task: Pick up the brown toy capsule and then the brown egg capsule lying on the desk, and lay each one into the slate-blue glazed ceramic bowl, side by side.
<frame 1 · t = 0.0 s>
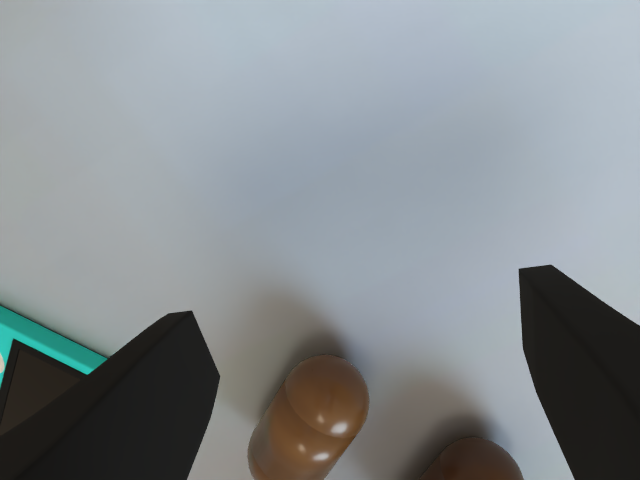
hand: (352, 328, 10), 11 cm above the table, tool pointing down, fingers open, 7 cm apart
handheld game console: (26, 388, 27), on the table
brown toy capsule: (451, 475, 24), on the table
brown egg capsule: (313, 399, 24), on the table
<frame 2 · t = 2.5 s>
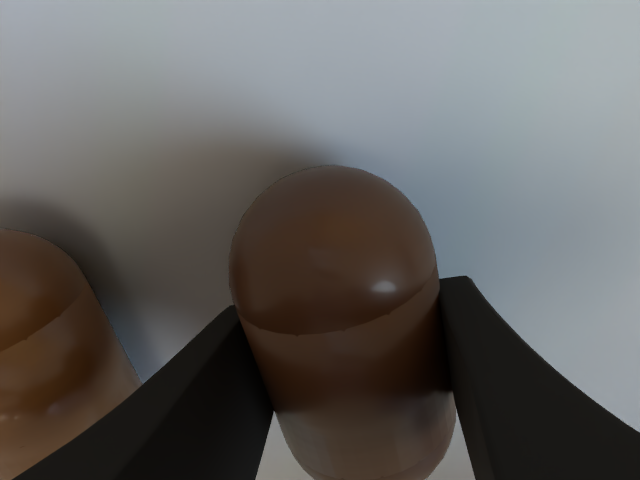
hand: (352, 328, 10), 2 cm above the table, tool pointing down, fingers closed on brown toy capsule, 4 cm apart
brown toy capsule: (355, 287, 12), on the table, touching gripper
brown egg capsule: (80, 322, 14), on the table
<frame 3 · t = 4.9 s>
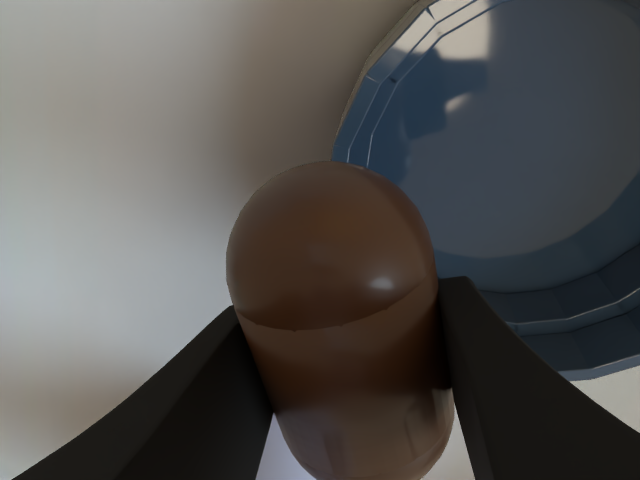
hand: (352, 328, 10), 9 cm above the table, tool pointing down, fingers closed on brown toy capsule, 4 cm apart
brown toy capsule: (353, 284, 12), point 7 cm above the table, touching gripper
bowl: (519, 158, 17), on the table
when the fingers open (2 cm above the table, at t = 7.7 s): brown toy capsule stays where it is, resting on bowl.
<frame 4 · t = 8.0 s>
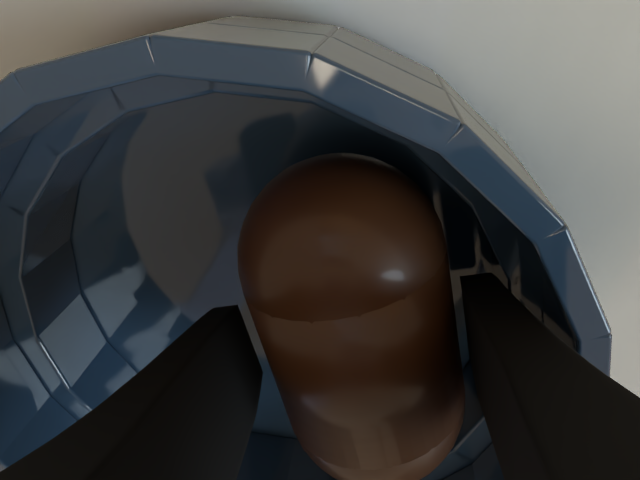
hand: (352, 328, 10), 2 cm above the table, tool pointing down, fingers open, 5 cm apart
brown toy capsule: (360, 278, 12), point 1 cm above the table, touching bowl
bowl: (279, 281, 13), on the table
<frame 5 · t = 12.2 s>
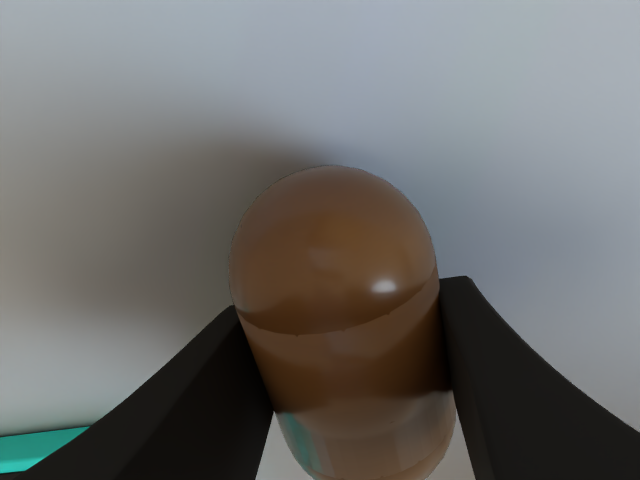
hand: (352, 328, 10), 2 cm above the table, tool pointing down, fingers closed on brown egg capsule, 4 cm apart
brown egg capsule: (355, 287, 12), on the table, touching gripper
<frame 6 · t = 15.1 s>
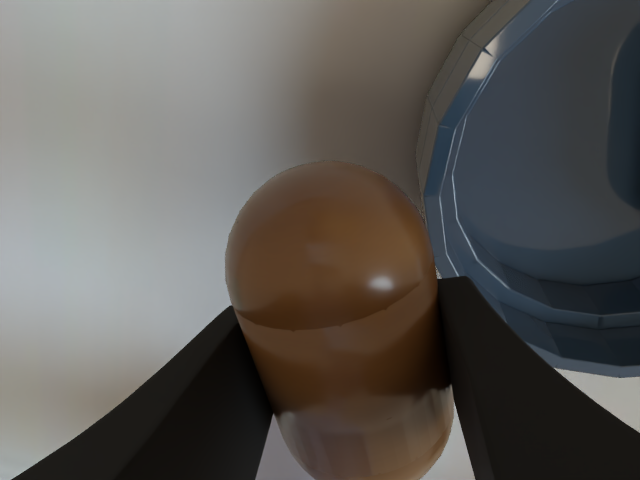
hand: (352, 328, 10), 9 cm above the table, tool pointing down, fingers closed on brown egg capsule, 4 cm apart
brown egg capsule: (352, 284, 12), point 7 cm above the table, touching gripper
bowl: (606, 144, 17), on the table
when the fingers open (2 cm above the table, at t = 17.8 s): brown egg capsule stays where it is, resting on bowl.
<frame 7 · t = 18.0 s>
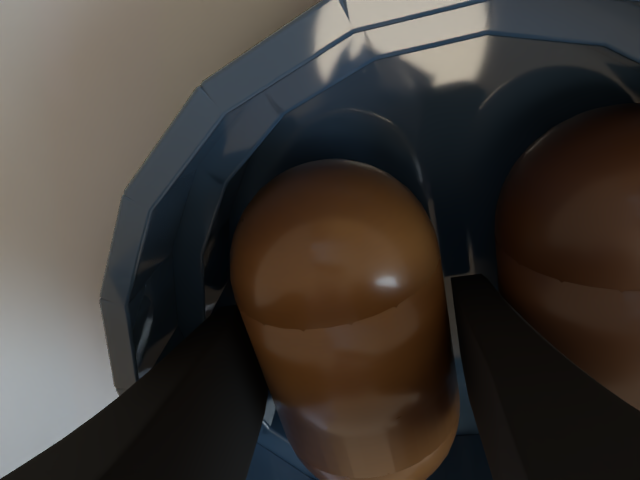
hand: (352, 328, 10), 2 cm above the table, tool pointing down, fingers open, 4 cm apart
brown toy capsule: (554, 259, 11), point 1 cm above the table, tilted 14°, touching bowl, gripper
brown egg capsule: (354, 283, 12), point 1 cm above the table, touching bowl
bowl: (448, 263, 12), on the table
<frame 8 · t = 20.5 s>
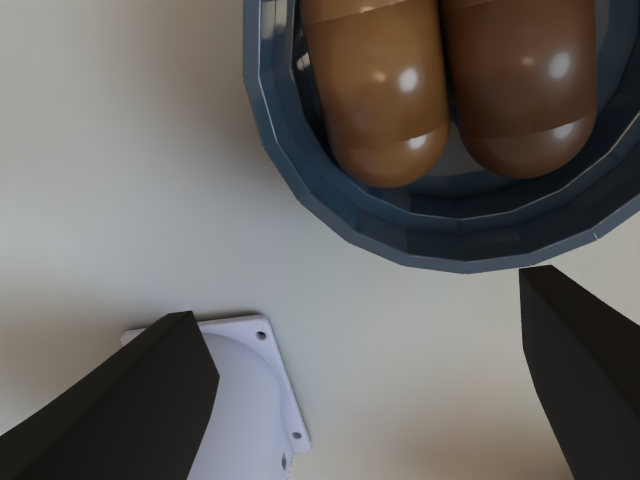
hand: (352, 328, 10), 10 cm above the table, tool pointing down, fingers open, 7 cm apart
brown toy capsule: (519, 43, 16), point 1 cm above the table, tilted 15°, touching bowl
brown egg capsule: (391, 58, 16), point 1 cm above the table, tilted 13°, touching bowl
bowl: (459, 45, 17), on the table
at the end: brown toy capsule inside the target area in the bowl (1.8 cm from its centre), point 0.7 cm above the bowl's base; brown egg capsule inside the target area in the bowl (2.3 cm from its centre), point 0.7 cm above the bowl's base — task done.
